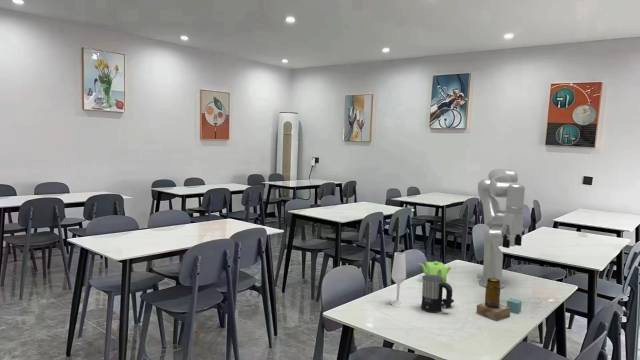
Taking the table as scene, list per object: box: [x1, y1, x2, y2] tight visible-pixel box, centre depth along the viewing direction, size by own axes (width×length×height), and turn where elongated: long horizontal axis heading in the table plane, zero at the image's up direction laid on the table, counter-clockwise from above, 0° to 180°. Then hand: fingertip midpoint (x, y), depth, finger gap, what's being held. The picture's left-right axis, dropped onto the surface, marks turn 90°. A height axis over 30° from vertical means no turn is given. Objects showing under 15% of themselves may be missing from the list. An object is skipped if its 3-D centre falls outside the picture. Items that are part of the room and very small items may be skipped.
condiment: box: [479, 278, 505, 310], centre depth 196 cm, size 7×8×12 cm
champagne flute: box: [390, 251, 407, 307], centre depth 206 cm, size 7×7×24 cm
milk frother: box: [420, 274, 455, 313], centre depth 204 cm, size 14×16×15 cm
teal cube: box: [506, 297, 523, 315], centre depth 203 cm, size 5×5×5 cm
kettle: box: [419, 261, 452, 283], centre depth 243 cm, size 15×14×11 cm
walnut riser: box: [476, 303, 511, 322], centre depth 197 cm, size 10×10×4 cm
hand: (511, 246), depth 208 cm, fingers open, 9 cm apart
